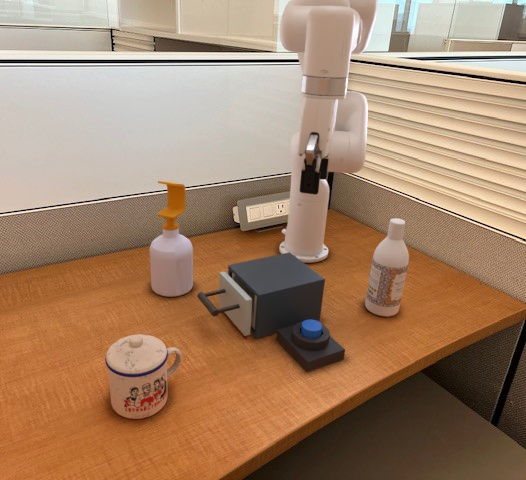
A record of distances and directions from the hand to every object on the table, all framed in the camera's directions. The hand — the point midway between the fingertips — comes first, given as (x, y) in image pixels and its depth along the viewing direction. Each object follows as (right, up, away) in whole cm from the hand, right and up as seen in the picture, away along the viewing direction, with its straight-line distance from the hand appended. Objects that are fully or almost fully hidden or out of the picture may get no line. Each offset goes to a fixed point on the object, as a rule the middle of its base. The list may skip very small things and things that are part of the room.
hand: (313, 185), depth 87 cm
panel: (-1, -30, 0) cm, 30 cm away
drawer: (-12, -25, +8) cm, 29 cm away
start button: (-1, -27, -1) cm, 27 cm away
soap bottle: (-28, -21, +19) cm, 40 cm away
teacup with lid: (-28, -35, -12) cm, 46 cm away
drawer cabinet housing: (-7, -25, +11) cm, 28 cm away
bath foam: (+16, -25, +14) cm, 33 cm away
